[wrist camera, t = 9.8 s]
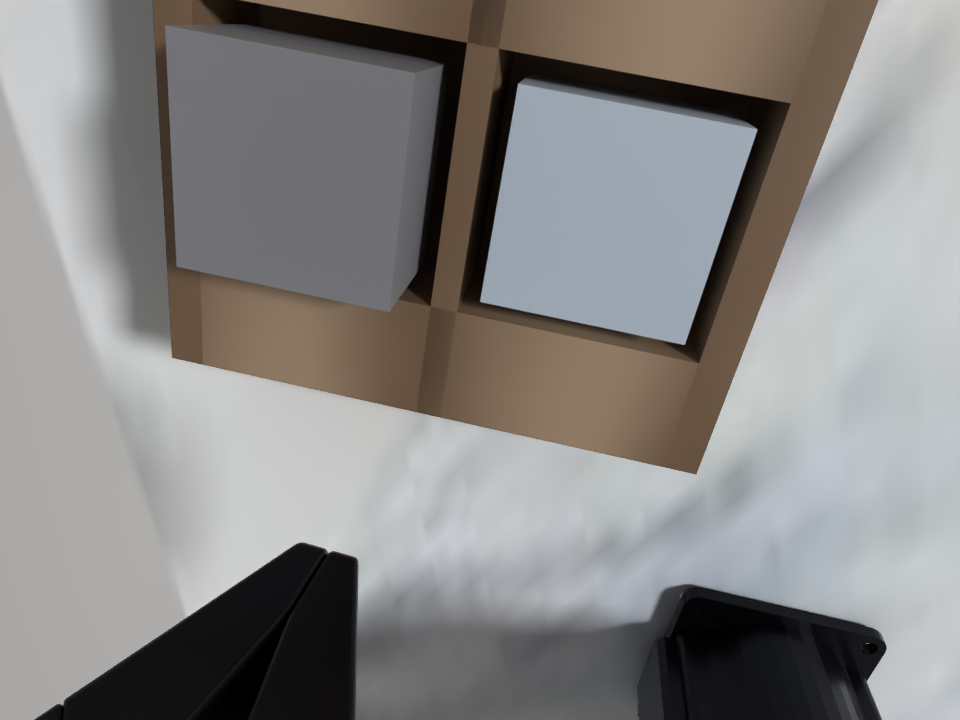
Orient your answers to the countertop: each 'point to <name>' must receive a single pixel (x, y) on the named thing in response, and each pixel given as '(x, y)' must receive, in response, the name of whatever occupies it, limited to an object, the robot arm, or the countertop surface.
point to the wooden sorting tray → (473, 201)
